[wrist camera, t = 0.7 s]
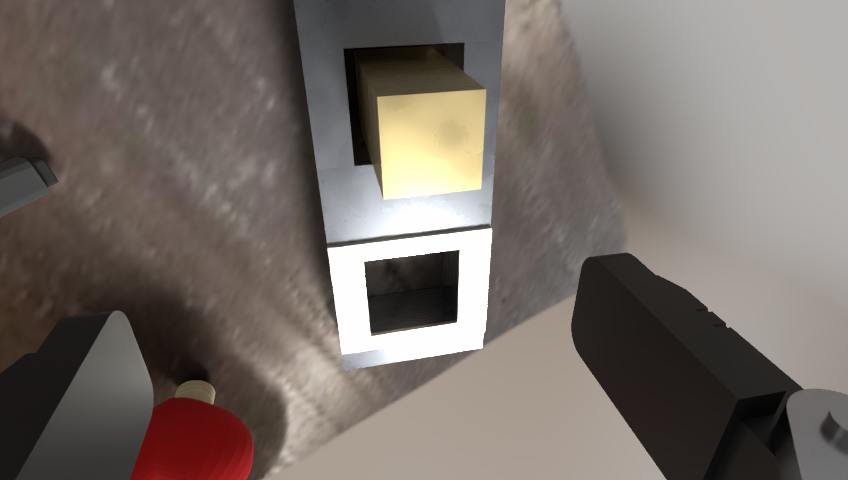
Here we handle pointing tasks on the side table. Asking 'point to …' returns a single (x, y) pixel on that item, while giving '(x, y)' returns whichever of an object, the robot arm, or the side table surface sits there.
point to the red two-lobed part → (194, 440)
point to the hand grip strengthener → (23, 182)
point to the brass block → (420, 121)
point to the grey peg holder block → (408, 216)
